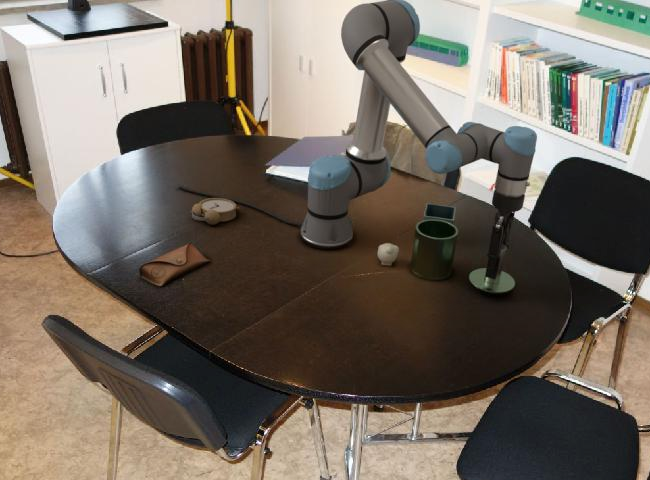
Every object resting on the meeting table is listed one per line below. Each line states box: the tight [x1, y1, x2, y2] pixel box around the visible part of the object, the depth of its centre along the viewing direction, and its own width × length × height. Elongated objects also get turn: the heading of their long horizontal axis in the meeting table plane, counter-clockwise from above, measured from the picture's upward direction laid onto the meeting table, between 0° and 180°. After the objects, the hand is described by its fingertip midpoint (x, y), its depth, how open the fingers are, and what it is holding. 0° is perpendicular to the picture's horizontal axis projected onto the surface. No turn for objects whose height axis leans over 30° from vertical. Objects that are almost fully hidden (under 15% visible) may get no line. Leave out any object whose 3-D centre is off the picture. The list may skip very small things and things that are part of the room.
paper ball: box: [377, 242, 400, 266], centre depth 190 cm, size 6×6×6 cm
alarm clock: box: [190, 197, 240, 226], centre depth 208 cm, size 11×5×15 cm
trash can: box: [410, 219, 459, 281], centre depth 186 cm, size 11×11×13 cm
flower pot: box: [423, 202, 457, 225], centre depth 203 cm, size 9×9×9 cm
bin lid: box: [468, 244, 516, 295], centre depth 179 cm, size 12×12×11 cm
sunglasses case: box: [138, 242, 211, 287], centre depth 182 cm, size 18×7×7 cm, turn 144°
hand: (493, 273), depth 180 cm, fingers closed on bin lid, 4 cm apart
